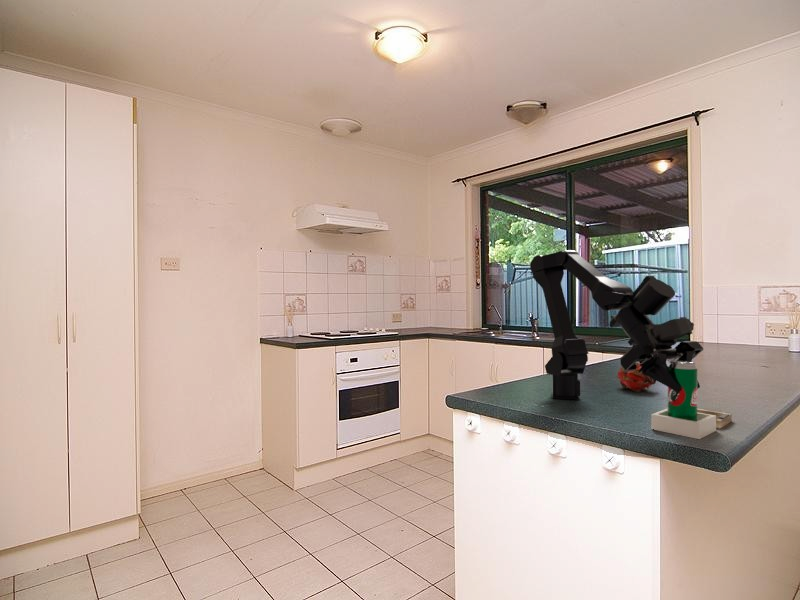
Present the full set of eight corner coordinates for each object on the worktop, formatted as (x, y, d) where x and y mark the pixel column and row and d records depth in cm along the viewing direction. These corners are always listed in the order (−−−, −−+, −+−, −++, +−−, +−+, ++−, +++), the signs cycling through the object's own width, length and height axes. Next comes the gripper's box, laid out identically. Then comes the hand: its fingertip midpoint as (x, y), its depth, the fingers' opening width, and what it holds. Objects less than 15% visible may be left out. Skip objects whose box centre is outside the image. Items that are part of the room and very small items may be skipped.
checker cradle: (675, 420, 99) (675, 412, 99) (688, 413, 104) (688, 405, 104) (720, 428, 93) (720, 419, 93) (731, 421, 98) (731, 412, 98)
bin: (651, 429, 93) (651, 414, 93) (669, 421, 98) (669, 407, 98) (699, 439, 86) (699, 423, 86) (716, 430, 92) (716, 415, 92)
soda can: (698, 427, 89) (698, 365, 89) (668, 423, 91) (668, 363, 91) (696, 420, 93) (696, 361, 93) (667, 417, 96) (667, 359, 96)
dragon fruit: (624, 390, 138) (650, 405, 127) (603, 374, 137) (628, 388, 125) (641, 367, 138) (669, 380, 126) (621, 351, 136) (647, 363, 124)
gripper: (632, 305, 92) (685, 368, 82) (694, 303, 99) (750, 361, 89) (600, 340, 99) (645, 403, 89) (661, 336, 107) (708, 394, 97)
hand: (689, 389), depth 91 cm, fingers closed on soda can, 5 cm apart
